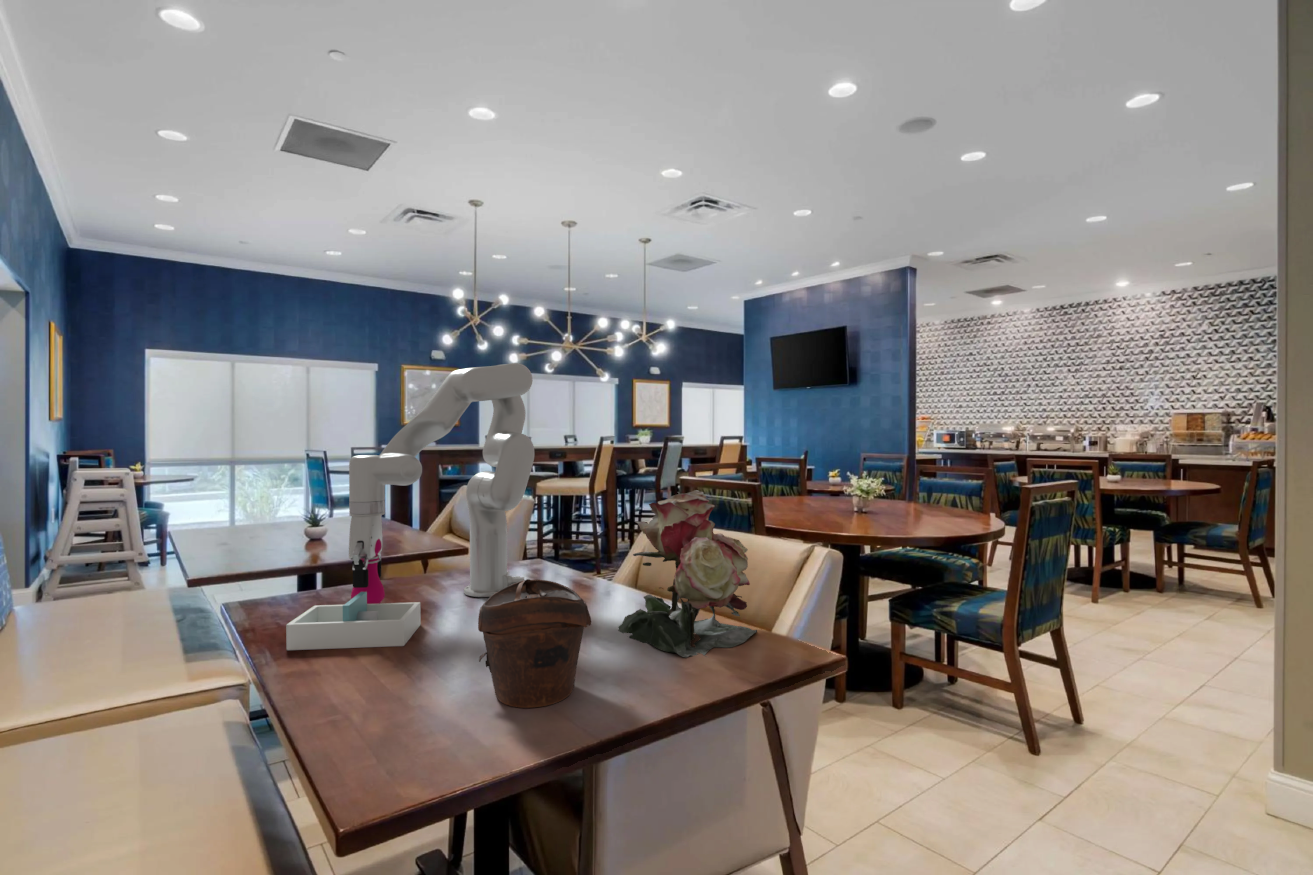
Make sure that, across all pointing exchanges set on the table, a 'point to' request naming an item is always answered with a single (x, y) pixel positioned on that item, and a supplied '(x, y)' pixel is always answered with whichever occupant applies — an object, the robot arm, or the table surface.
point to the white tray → (353, 627)
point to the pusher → (358, 609)
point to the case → (533, 641)
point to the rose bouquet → (691, 579)
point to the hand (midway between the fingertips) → (367, 582)
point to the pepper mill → (372, 580)
